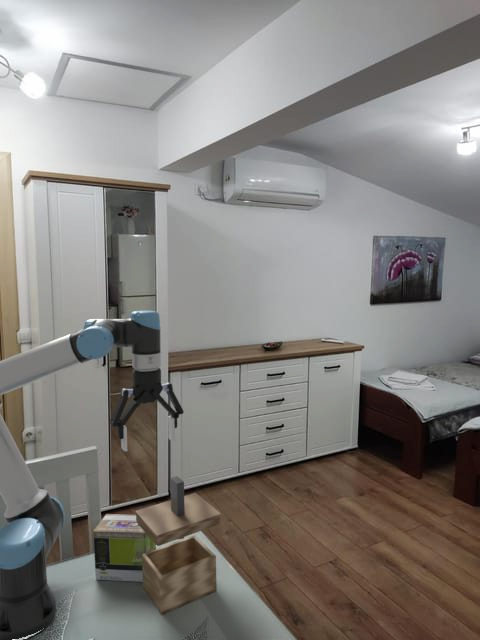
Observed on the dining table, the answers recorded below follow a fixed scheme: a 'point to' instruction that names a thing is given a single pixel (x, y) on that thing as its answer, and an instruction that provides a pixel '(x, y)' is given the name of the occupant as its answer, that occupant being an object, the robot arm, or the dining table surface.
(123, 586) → the dining table surface
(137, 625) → the dining table surface
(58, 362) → the robot arm
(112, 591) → the dining table surface
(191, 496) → the lid
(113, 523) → the tea box
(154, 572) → the wooden box
